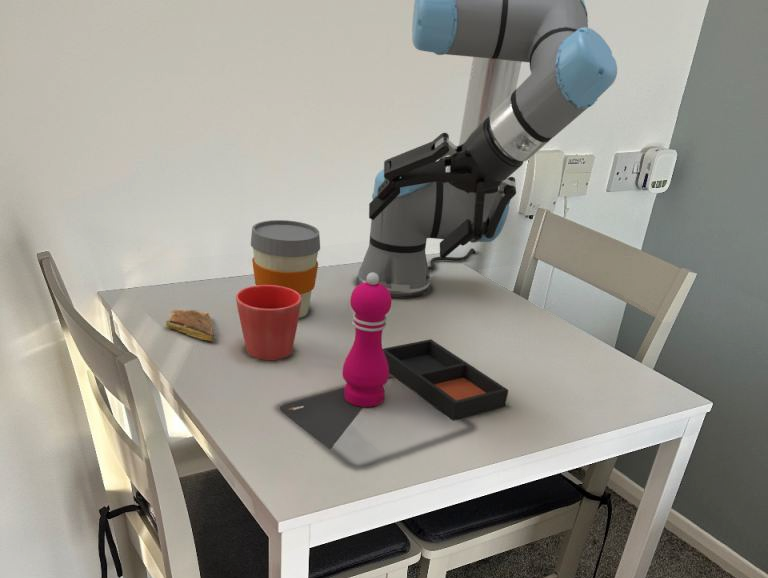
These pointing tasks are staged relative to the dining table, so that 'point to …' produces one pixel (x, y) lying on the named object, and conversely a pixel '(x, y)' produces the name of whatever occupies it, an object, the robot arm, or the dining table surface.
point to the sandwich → (191, 323)
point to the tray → (444, 379)
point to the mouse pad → (323, 415)
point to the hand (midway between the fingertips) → (407, 232)
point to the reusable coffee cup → (286, 256)
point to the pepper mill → (367, 344)
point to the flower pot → (268, 320)
